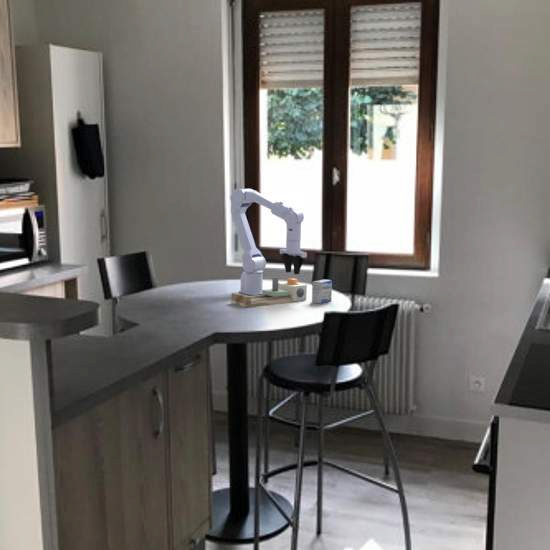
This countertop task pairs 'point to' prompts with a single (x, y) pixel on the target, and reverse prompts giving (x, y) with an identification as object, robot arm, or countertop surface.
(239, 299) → the rail track
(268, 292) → the carriage
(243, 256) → the robot arm
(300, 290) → the end cabinet
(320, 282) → the medicine box
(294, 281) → the button
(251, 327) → the countertop surface
